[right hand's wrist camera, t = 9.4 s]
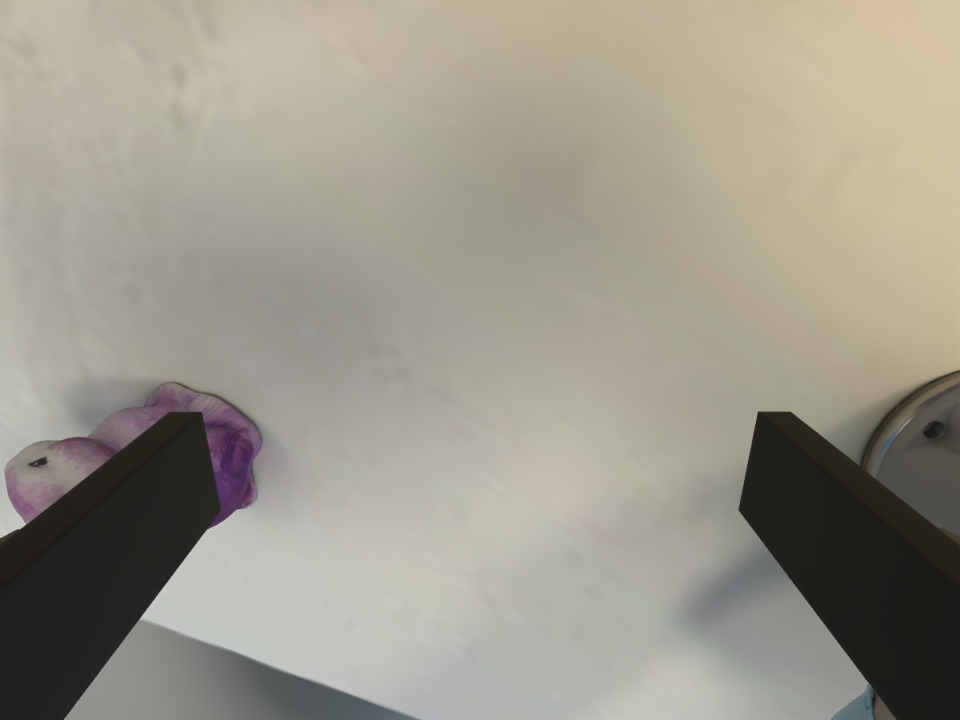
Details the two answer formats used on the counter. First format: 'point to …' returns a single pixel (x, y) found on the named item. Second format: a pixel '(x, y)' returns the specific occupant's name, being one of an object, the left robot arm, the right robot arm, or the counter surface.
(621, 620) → the counter surface
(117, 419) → the figurine
